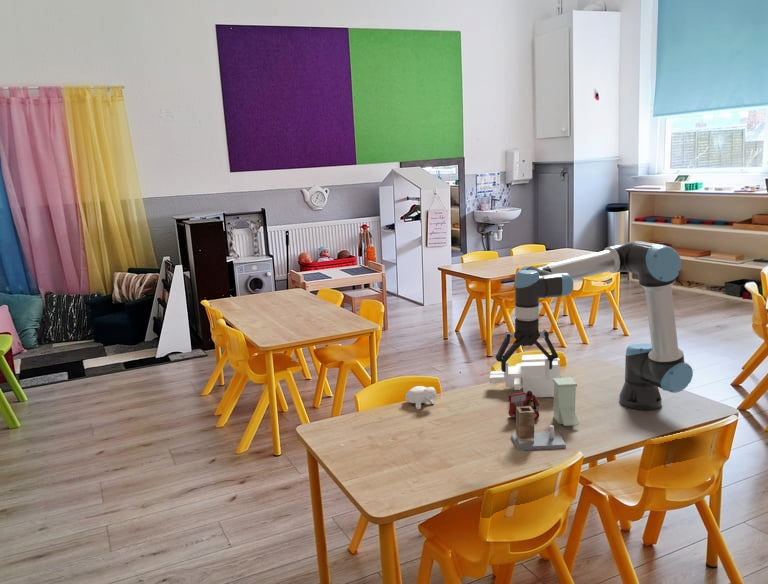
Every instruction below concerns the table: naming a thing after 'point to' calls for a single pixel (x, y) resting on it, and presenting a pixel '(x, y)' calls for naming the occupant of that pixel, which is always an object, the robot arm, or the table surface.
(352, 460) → the table surface
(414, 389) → the white blocky animal toy
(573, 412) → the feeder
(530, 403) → the toy fire truck
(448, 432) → the table surface
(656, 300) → the robot arm
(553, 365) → the white voxel figure
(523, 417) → the sleeve
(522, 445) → the pinboard
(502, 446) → the table surface
